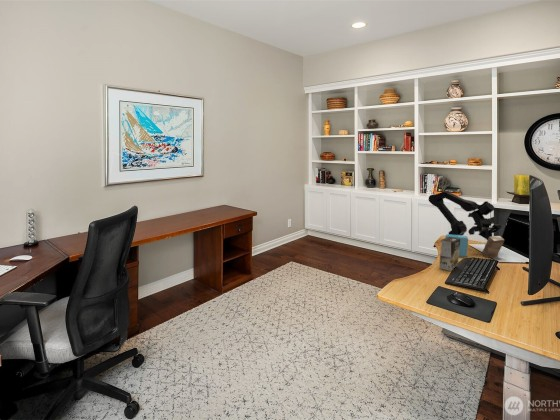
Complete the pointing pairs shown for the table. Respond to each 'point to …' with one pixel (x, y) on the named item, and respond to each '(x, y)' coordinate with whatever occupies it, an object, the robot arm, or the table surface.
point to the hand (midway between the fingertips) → (491, 242)
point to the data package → (461, 244)
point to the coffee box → (449, 253)
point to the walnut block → (493, 246)
